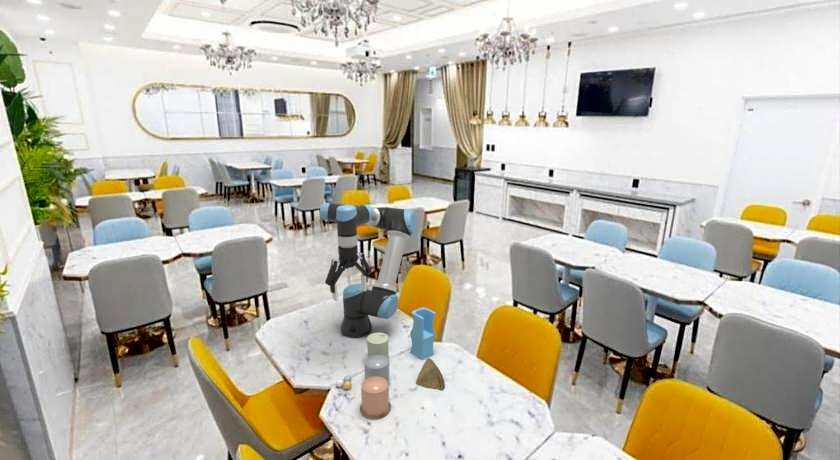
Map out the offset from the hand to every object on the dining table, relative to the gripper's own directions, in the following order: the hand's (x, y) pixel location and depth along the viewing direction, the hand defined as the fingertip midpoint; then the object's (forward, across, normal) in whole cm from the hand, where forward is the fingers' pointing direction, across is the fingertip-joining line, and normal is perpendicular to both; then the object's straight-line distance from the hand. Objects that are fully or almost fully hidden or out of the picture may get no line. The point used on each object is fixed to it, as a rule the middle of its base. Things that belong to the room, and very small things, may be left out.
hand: (350, 294), depth 160 cm
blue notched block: (+32, -27, +14) cm, 44 cm away
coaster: (+31, +9, +29) cm, 44 cm away
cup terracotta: (+30, +9, +29) cm, 43 cm away
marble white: (+31, +12, +10) cm, 35 cm away
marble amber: (+31, +11, +13) cm, 36 cm away
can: (+32, -8, +7) cm, 33 cm away
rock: (+32, -15, +33) cm, 48 cm away
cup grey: (+31, 0, +18) cm, 36 cm away
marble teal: (+31, +9, +10) cm, 34 cm away
